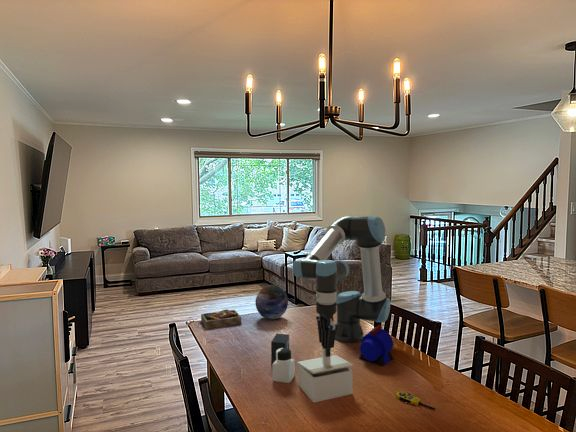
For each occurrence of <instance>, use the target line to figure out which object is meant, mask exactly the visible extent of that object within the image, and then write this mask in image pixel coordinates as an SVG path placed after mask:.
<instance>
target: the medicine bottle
mask: <svg viewBox="0 0 576 432" xmlns="http://www.w3.org/2000/svg"><path fill="white" fill-rule="evenodd" d="M291 350H292V349H291ZM291 350H290V348H289V349H288V348H280V349H278V350H277V351H276V361H275V362H274V363H273V364H272V381H274V382H278V383H284V384H285V383H286V384H289V383H290V382H291V381H292V380H293V378H294V377H295V376H296V374H295V373H296V372H295V371H296V370H295V368H296V367H295V362H296V361H295V359H294V358H292V351H291Z"/></svg>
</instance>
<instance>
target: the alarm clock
mask: <svg viewBox="0 0 576 432" xmlns="http://www.w3.org/2000/svg"><path fill="white" fill-rule="evenodd" d="M393 348H394V340H393V338H392V336H391V335H390V333H389V332H388V331H386V330H385V329H383V326H382V325H381V324H378V325H377V326H376V327H373V328H372V329H371V330H370V331H369V332H368V333H366V334H365V335H363V339H362V340H361V343H360V345H359V350H360V353H361V355H360V356H359V360H360V359H366V360H367V361H369V362H376V363H377V364H378V365H380V366H382V367H385V366H386V365H388V364H389V363H391V362H392V361H394V360H395V359H394V357H393V355H392V352H391V351H393ZM390 361H391V362H390ZM387 363H388V364H387Z"/></svg>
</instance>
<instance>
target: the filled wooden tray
mask: <svg viewBox="0 0 576 432" xmlns="http://www.w3.org/2000/svg"><path fill="white" fill-rule="evenodd" d="M229 310H230V309H229ZM230 311H232V312H235V313H237V317H232V318H225V319H219V320H209V321H207V317H205V315H209V314H214V313H215V312H216V311H214V312H213V311H212V312H206V313H200V322H202V324H203V327H205V329H214V328H220V327H221V326H222V327H226V326H227V327H228V325H229V326H235V325H241V324H242V316H241V315H240V314H239V312H237V311H236V310H235V309H231V310H230Z"/></svg>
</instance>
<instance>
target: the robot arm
mask: <svg viewBox="0 0 576 432" xmlns="http://www.w3.org/2000/svg"><path fill="white" fill-rule="evenodd" d="M385 239H386V227H385V223H384V221H383V219H382V217H380V216H374V215H345V216H342V217H340V218H338V219H336V220H335V221H333V222H332V223H330V225H328V227H327V228H326V230H325V234H323V236H322V237H321V238H320V239H319V240H318V242H317V243H316V244H315V245H314V246H313V247H312V249H311V250H310V251H309V252H308V253H307V255H306V256H305V257H304V258H296V259H295V260H294V261H293V263H292V267H291V268H292V274H293V275H294V276H295V277H297V278H301V279H313V280H315V287H316V288H315V291H316V294H315V297H316V298H315V300H316V303H315V308H316V309H315V311H316V313H317V314H318V315H317V316H315V319H316V323H317V324H316V325H317V332H318V340H319V341H318V342H319V344H320V345H321V346H322V347H321V350H322V351H321V352H322V353H321V357H322V364H323V365H328V364H331V356H332V353H331V351H332V350H331V349H333V348H334V347H335V342H336V341H339V342H344V343H356V342H357V343H358V342H360V341H361V342H362V339H363V337H364V331H363V328H362V325H361V320H364V321H369V322H376V323H385V322H386V321H387V320H388V318H389V314H390V310H391V299H390V298H388V297H387V296H386V295H387V294H386V293H385V292H384V291H383V287H382V286H383V285H382V284H383V283H382V271H381V259H380V258H381V257H380V246H382V242H384V241H385ZM344 241H355V242H356V246H357V247H358V248H359V249H360V261H361V271H362V281H363V290H364V291H363V293H361V292H360V291H357V290H349V291H343V292H340V293H339V294H338V293H337V292H338V291H337V283H338V282H341V281H343V280H344V279H345V278H346V277H348V275H349V274H350V267H349V264H348V263H347V262H346V261H344V260H331V259H329V257H330V255H332V253H333V251H334V250H336V249H337V247H338V245H340V244H342V243H344ZM337 294H338V295H337ZM335 314H336V324H335V323H334V315H335Z"/></svg>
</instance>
